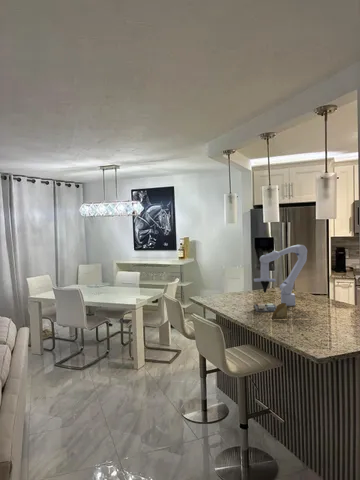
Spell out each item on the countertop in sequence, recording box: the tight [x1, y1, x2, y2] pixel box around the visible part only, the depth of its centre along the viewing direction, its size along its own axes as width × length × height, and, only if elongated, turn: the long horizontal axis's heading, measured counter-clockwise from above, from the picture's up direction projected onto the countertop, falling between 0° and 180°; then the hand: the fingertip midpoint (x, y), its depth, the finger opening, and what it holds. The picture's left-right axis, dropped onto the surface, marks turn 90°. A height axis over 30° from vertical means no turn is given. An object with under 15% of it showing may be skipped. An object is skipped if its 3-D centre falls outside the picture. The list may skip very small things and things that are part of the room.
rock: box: [271, 302, 288, 321], centre depth 218 cm, size 11×9×10 cm
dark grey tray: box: [253, 303, 277, 313], centre depth 239 cm, size 14×18×2 cm
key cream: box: [257, 303, 266, 309], centre depth 236 cm, size 4×4×2 cm
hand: (264, 292), depth 248 cm, fingers closed
